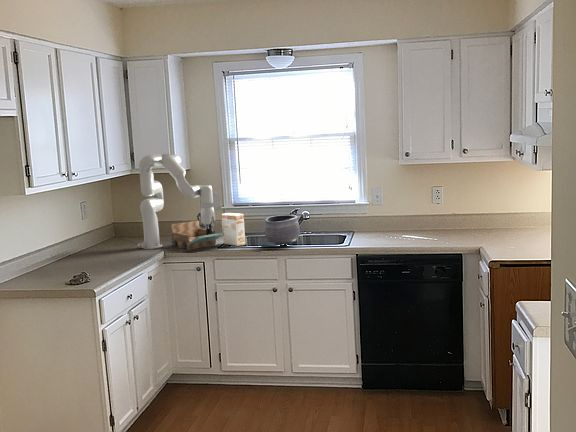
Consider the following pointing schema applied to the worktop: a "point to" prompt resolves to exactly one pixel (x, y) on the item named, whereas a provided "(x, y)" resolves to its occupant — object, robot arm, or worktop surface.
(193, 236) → the shelf
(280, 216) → the tea bowl
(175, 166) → the robot arm
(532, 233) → the worktop surface
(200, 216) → the moka pot
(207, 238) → the tailgate
